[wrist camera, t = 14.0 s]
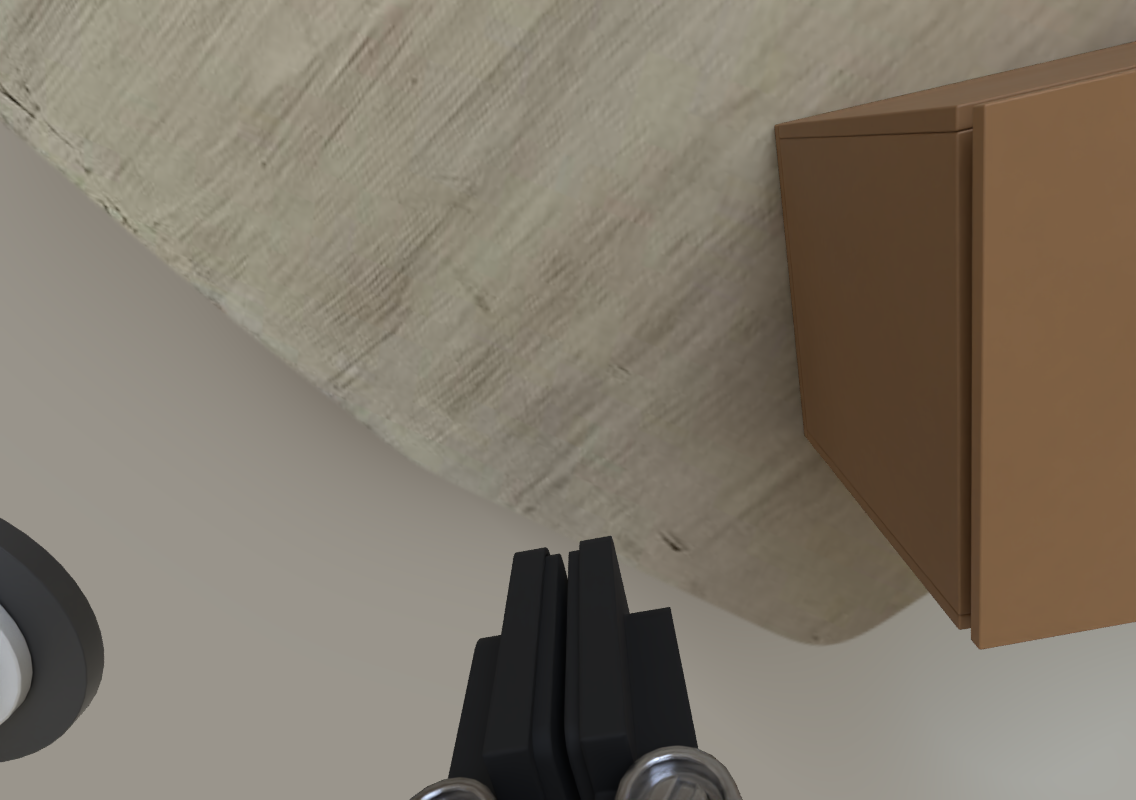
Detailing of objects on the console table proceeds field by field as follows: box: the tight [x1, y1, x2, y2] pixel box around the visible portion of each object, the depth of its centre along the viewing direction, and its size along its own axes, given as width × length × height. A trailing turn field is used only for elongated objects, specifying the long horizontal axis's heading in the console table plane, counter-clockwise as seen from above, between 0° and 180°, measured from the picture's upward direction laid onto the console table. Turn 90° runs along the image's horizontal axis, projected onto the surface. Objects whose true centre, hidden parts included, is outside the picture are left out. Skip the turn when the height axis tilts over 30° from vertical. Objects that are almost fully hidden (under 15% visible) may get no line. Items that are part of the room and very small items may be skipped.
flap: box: [971, 68, 1136, 649], centre depth 14 cm, size 6×13×1 cm, turn 12°
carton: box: [775, 41, 1136, 630], centre depth 20 cm, size 13×13×12 cm
